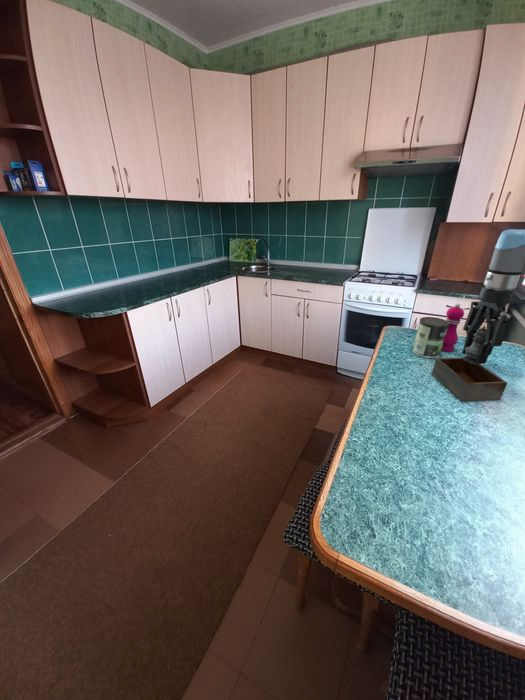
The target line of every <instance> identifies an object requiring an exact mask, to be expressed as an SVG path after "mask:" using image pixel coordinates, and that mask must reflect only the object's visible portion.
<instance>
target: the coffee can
mask: <svg viewBox="0 0 525 700" xmlns="http://www.w3.org/2000/svg"><path fill="white" fill-rule="evenodd" d="M448 326H449V322H448V321H446V319H443V318H441V317H434V316H424V317H420V319H419V322H418V327H417V331H416V336H415V338H414V339H415V340H414V344H413V348H412V352H413V354H415V355H416V356H418V357H422V358H426V359H438V358H439V357H440V356H441V352H442V350H441V349H442V345H443V342H444V339H445V335H446V332H447V328H448Z"/></svg>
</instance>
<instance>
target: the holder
mask: <svg viewBox="0 0 525 700" xmlns="http://www.w3.org/2000/svg"><path fill="white" fill-rule="evenodd" d="M431 375H432V376H433V377H434V378H435V379H436V380H437V381H438V382H439V383H440V384H441V385H443V387H444V388H446V389H447V390H448V391H449V393H451V394H452V395H453V396H454V397H456V399H458V400H459V401H460V402H461V403H466V402H467V403H469V402H488V401H501V399H502V396H503V395H504V392H505V390H506V387H507V385H508V382H507V381H506V380H504V379H503V378H501V377H500V376H498V375H497V374H496V373H494V372H493V371H491V370H490V369H489V368H487V367H485V366H484V365H483V364H472V363H468V362H466V361H465V360H463V357H443V358H439V357H438V358H435V361H434V365H433V367H432V371H431Z"/></svg>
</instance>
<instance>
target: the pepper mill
mask: <svg viewBox="0 0 525 700" xmlns="http://www.w3.org/2000/svg"><path fill="white" fill-rule="evenodd" d="M445 315H446V319H445V320H446V321H448V322H449V326H448V328H447V332H446V335H445V339H444V342H443V345H442V349H441V352H447V353H451V352H453V351H454V349H455V345H457V343H458V341H459V340H458V338H459V336H458V333H457V329H458V326H459V324H460V323H461V321H462V320H461V319H463V318H464V316H465V311H464V309H463V308H462V307H461V304H460V303H455V304H454V306H451V307H449V308H448V309H447V310H446V314H445Z"/></svg>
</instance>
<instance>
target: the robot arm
mask: <svg viewBox="0 0 525 700" xmlns="http://www.w3.org/2000/svg"><path fill="white" fill-rule="evenodd" d="M524 268H525V229H505V230H503V231H502V232H501V233H500V235H499V237H498V239H497V242H496V244H495V246H494V250H493V254H492V256H491V259H490V262H489V266H488V269H487V271H486V275H485V278H484V282H483V285H484V286H482V287H481V289H480V293H479V296H478V299H479V300H478V301H476V300H475V301H471V302H470V309H469V312H468V314H467V316H466V320H465V322H464V325H463V327H462V331H465V332H466V333H465V334H466V335H465V339H464V345H463V347H462V351H461V354H463V355H466V353H465V351H466V350H465V348H466V347H469V346H471V345H472V343H473V338H474V337H475V335H476V332H477V330H478V329H480V328H482V325H483V324H484V322H485V323H486V339H485V344H482V346H481V349H480V352H479V354H478V357H477V360H476V363H477V364H481V365H484V364H486V363H487V361H488V358H489V356H491V354H492V351H493V349H494V348H495V347H502V345H503V342H504V339H505V336H506V334H507V330H508V328H509V324H510V322H511V321H512V319H514V315H513V314H509V313H507V311H506V310H507V309H506V308H507V305H508V304H509V303H510V302H512V298H513V296H514V293H515V291H514V290H515V289H517V286H518V283H519V280H520V277H521V275H522V274H523V273H522V272H523V270H524Z"/></svg>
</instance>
